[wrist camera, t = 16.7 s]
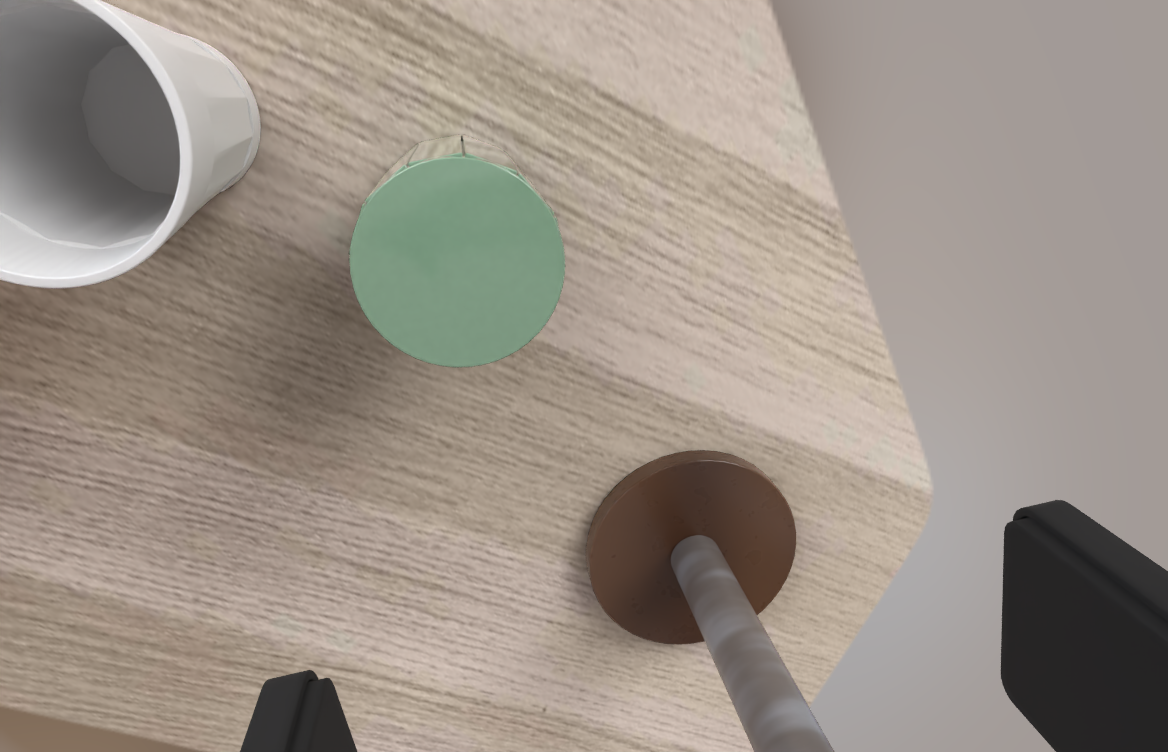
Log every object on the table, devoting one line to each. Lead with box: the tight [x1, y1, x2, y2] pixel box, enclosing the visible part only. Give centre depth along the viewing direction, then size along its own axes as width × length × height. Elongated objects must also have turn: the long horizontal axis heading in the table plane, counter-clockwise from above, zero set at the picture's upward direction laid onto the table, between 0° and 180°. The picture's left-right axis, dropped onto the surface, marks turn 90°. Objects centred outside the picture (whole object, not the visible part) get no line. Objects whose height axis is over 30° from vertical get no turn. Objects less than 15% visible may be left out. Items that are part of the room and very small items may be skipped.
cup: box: [0, 0, 261, 288], centre depth 26 cm, size 8×8×12 cm
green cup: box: [349, 134, 565, 367], centre depth 30 cm, size 7×7×10 cm
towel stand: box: [586, 450, 834, 752], centre depth 35 cm, size 11×11×16 cm
